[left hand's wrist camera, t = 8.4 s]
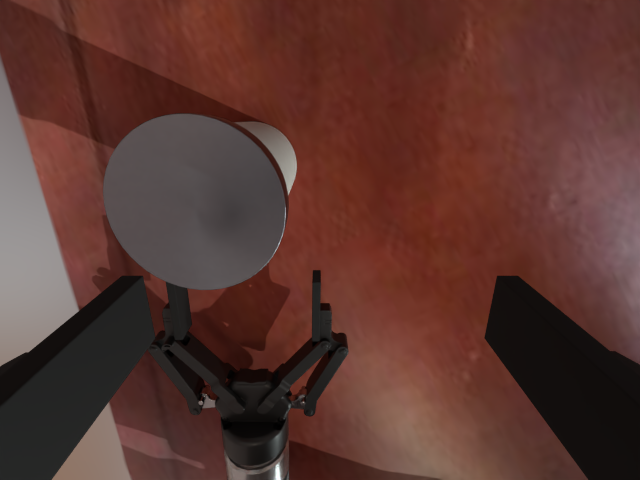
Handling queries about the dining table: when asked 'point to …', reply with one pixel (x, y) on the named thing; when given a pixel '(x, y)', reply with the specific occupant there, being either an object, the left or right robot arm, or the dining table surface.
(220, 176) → the lid
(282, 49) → the dining table surface
